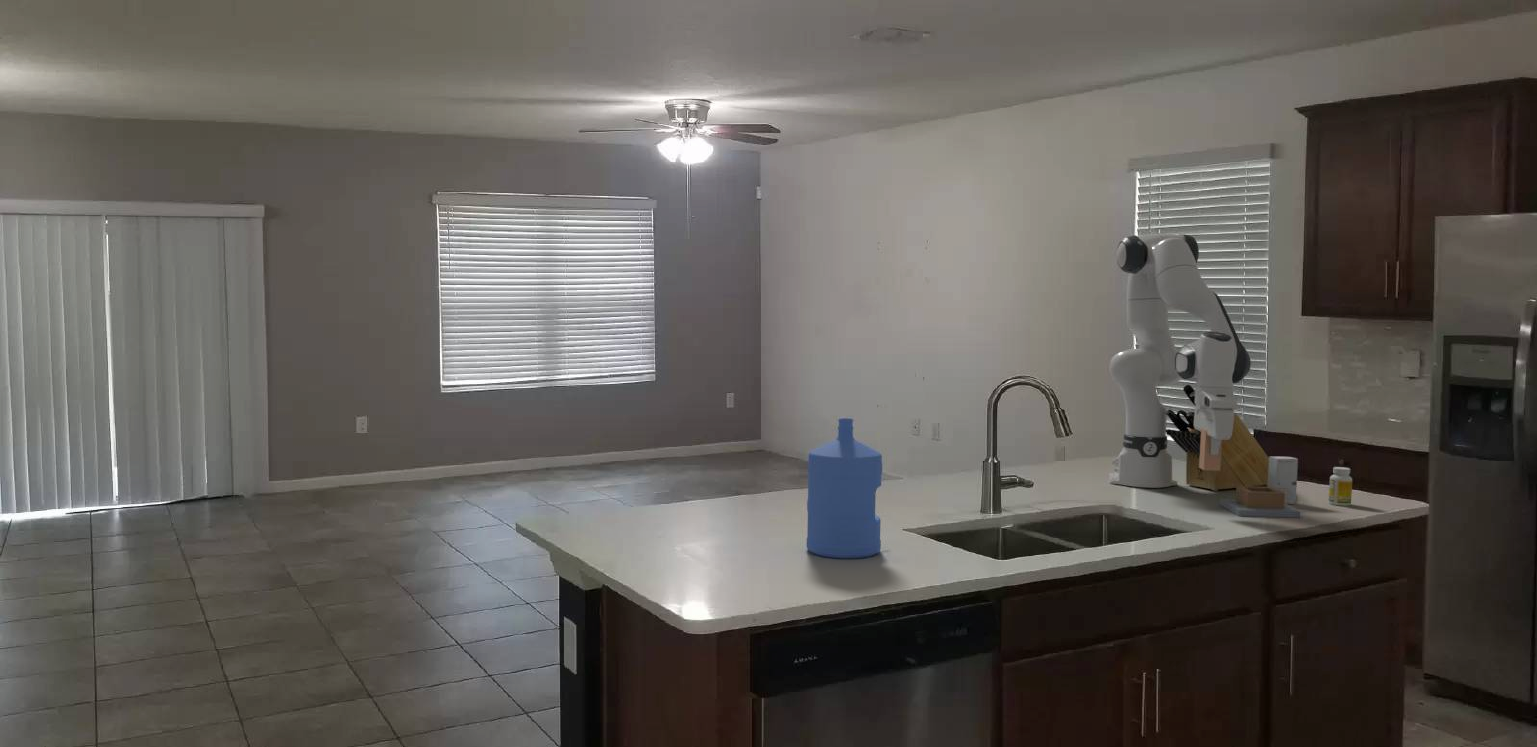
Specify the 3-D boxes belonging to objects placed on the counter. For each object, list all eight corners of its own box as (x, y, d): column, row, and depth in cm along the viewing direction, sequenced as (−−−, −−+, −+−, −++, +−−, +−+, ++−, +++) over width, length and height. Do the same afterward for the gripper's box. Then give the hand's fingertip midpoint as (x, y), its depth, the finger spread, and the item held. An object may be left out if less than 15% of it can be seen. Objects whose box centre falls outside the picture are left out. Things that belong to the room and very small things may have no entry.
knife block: (1159, 487, 334) (1163, 378, 332) (1250, 480, 349) (1255, 375, 347) (1188, 494, 324) (1193, 381, 322) (1281, 486, 339) (1286, 378, 337)
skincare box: (1275, 504, 310) (1277, 458, 309) (1265, 501, 315) (1267, 456, 314) (1297, 504, 311) (1299, 458, 310) (1287, 500, 316) (1289, 455, 315)
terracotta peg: (1199, 467, 298) (1201, 428, 298) (1215, 467, 298) (1217, 428, 297) (1203, 470, 294) (1205, 430, 294) (1220, 470, 294) (1222, 430, 293)
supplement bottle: (1324, 503, 312) (1326, 467, 312) (1334, 501, 316) (1336, 465, 315) (1345, 506, 308) (1347, 470, 307) (1354, 504, 312) (1356, 468, 311)
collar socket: (1219, 504, 309) (1220, 483, 308) (1279, 506, 308) (1279, 485, 307) (1238, 515, 294) (1239, 493, 293) (1300, 517, 293) (1301, 495, 292)
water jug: (838, 563, 239) (840, 425, 237) (791, 548, 251) (793, 417, 249) (896, 553, 248) (898, 420, 246) (848, 539, 260) (850, 413, 258)
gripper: (1189, 392, 305) (1186, 445, 306) (1212, 402, 285) (1209, 458, 286) (1214, 393, 305) (1210, 446, 306) (1239, 402, 284) (1236, 459, 286)
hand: (1210, 452), depth 296 cm, fingers closed on terracotta peg, 4 cm apart
